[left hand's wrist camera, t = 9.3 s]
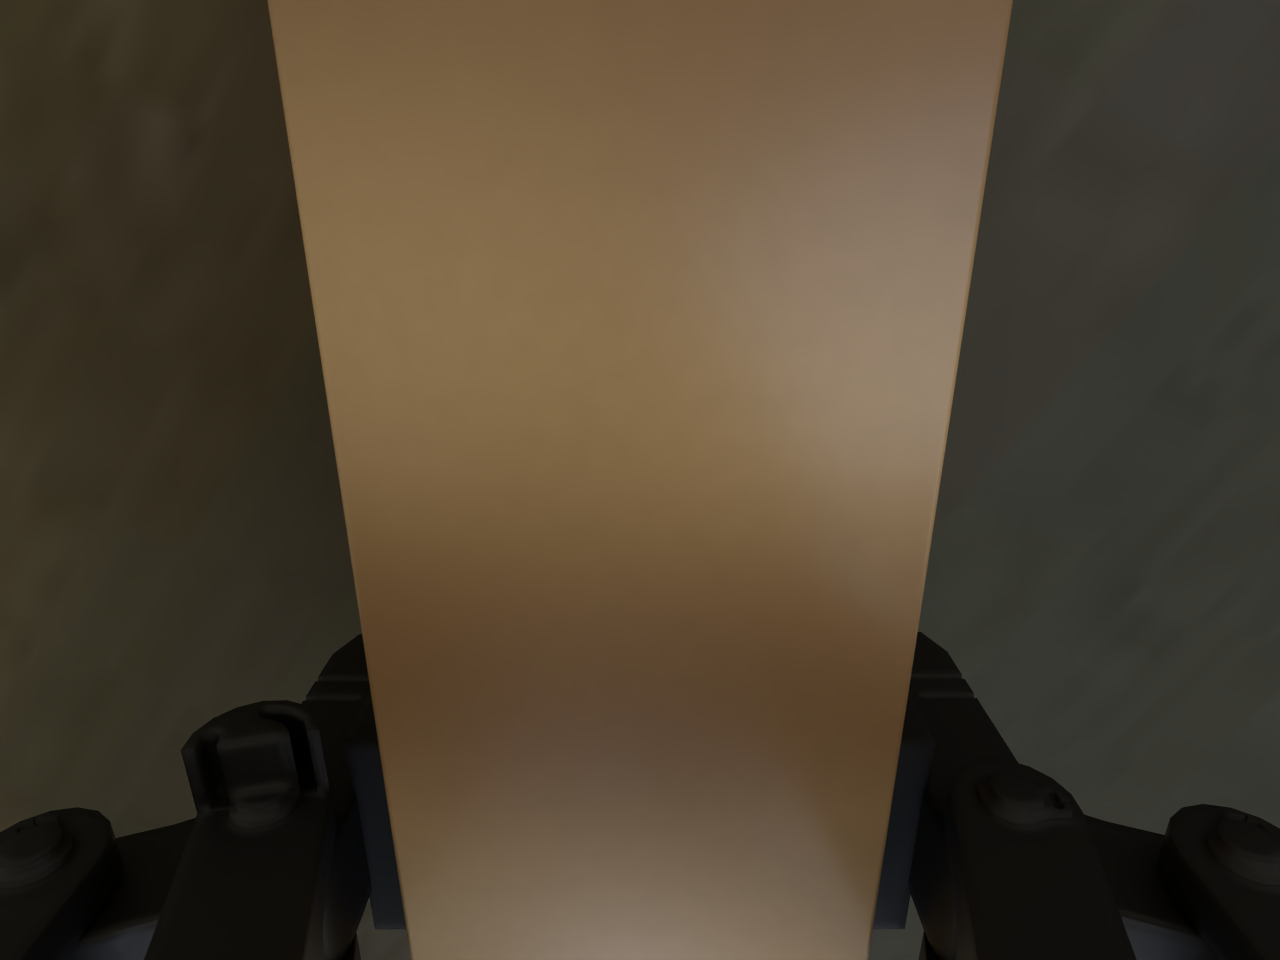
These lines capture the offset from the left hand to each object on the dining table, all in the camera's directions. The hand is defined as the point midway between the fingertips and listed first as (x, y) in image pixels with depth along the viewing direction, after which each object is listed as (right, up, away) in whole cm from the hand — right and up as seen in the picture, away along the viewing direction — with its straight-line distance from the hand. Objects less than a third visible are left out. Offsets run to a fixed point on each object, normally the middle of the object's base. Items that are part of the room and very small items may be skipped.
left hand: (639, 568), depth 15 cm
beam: (0, +26, -10) cm, 28 cm away
